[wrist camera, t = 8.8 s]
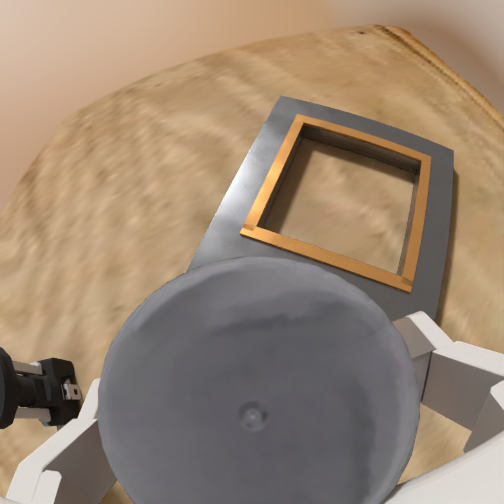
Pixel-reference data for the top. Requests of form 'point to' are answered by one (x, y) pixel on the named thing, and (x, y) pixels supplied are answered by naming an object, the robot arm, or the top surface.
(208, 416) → the supplement bottle
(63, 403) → the push button
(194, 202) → the top surface
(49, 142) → the top surface
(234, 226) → the grey rectangular frame
